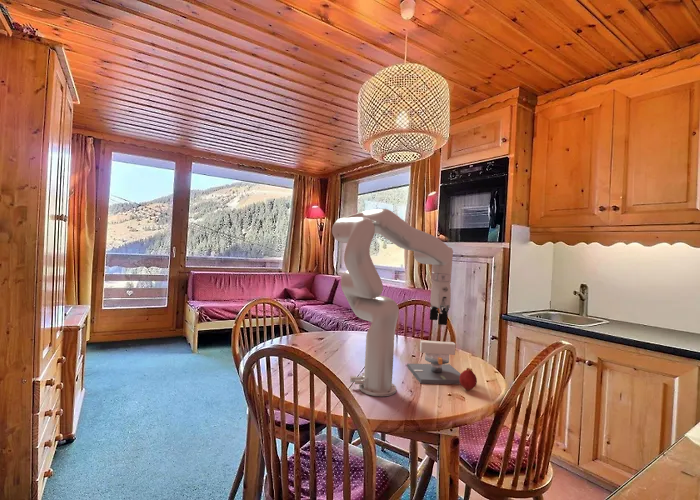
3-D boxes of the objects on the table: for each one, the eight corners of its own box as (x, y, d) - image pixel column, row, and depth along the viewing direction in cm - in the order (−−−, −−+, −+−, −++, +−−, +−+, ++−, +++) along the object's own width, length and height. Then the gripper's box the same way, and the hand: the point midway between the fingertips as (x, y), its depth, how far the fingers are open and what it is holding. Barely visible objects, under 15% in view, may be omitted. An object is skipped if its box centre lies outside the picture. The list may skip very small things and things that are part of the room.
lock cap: (458, 366, 132) (459, 348, 132) (422, 364, 133) (423, 345, 133) (450, 358, 143) (451, 340, 143) (418, 355, 144) (419, 338, 144)
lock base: (420, 383, 129) (421, 368, 129) (407, 367, 147) (408, 353, 147) (468, 384, 131) (469, 369, 131) (449, 367, 149) (450, 354, 149)
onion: (462, 386, 129) (463, 363, 129) (478, 390, 125) (479, 367, 125) (456, 390, 124) (457, 367, 124) (472, 395, 121) (473, 371, 121)
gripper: (459, 280, 131) (456, 327, 131) (442, 277, 148) (439, 318, 148) (439, 279, 130) (436, 326, 130) (424, 276, 147) (421, 317, 147)
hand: (437, 322), depth 139 cm, fingers open, 9 cm apart
